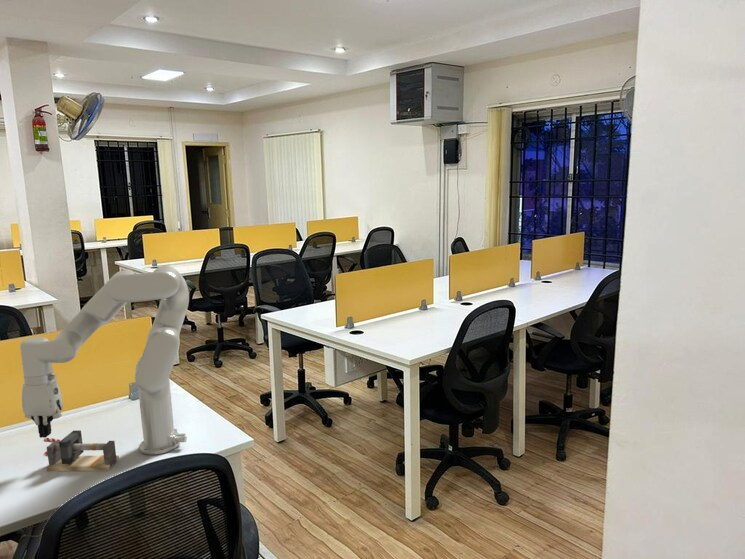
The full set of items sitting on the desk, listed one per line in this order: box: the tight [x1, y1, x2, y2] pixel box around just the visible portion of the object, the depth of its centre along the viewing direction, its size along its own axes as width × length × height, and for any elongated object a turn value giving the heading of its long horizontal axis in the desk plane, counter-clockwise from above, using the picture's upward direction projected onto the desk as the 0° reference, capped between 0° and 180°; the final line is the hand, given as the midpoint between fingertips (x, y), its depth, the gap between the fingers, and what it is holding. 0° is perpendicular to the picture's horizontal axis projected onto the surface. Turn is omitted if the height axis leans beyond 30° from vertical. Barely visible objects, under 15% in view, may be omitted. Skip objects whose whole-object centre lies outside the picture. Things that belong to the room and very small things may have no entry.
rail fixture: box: [45, 440, 120, 472], centre depth 168 cm, size 19×7×7 cm, turn 88°
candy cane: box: [43, 437, 62, 457], centre depth 181 cm, size 8×1×15 cm
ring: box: [59, 430, 85, 464], centre depth 167 cm, size 2×8×7 cm, turn 178°
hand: (45, 435), depth 167 cm, fingers closed
